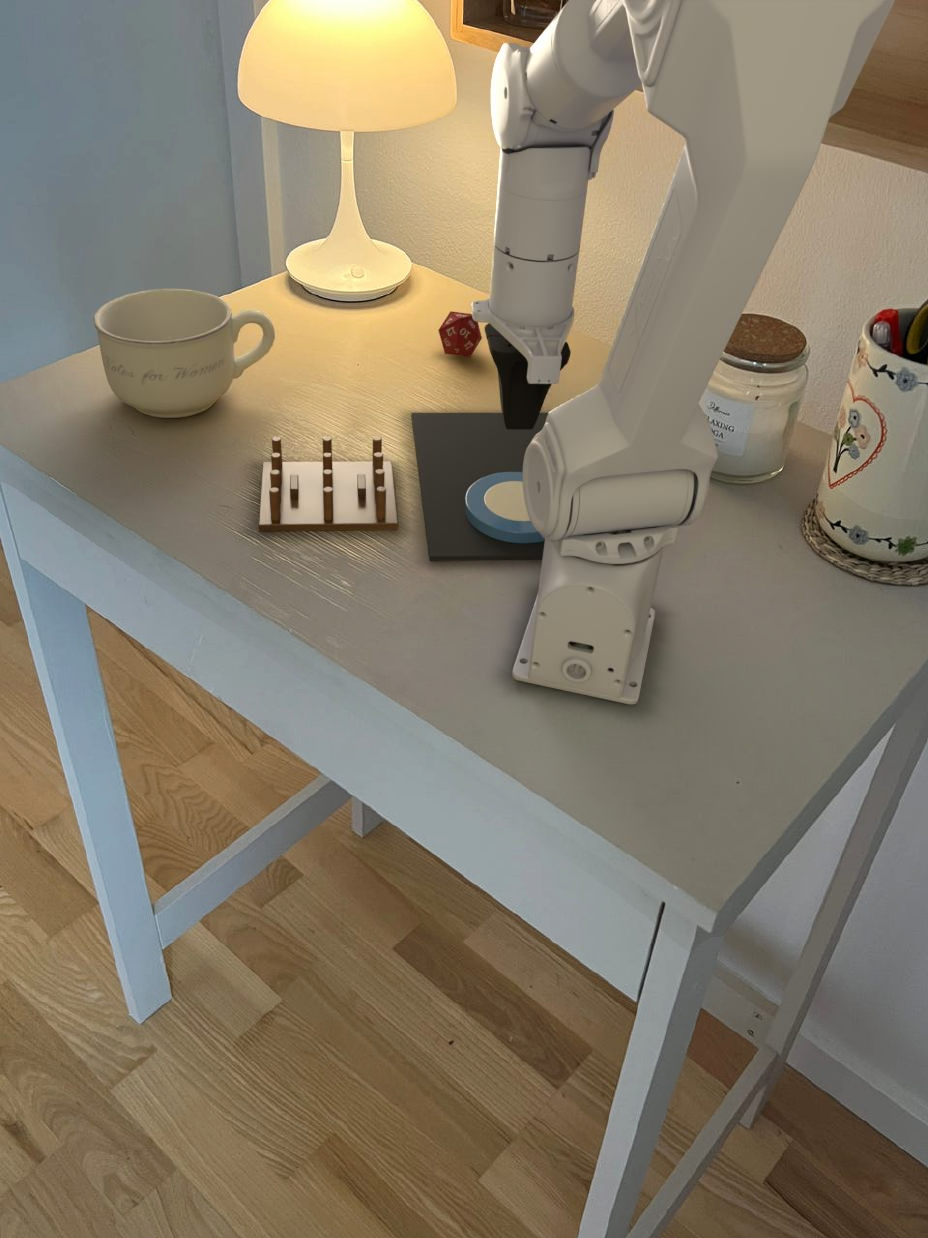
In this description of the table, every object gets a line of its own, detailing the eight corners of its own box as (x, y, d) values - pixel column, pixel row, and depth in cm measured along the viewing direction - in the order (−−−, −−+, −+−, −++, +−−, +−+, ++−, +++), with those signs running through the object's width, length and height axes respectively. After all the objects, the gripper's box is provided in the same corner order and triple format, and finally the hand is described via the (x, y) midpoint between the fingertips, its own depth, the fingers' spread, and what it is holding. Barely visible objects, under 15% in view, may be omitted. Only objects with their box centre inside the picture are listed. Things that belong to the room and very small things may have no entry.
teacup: (95, 430, 91) (79, 338, 86) (121, 366, 99) (108, 278, 94) (270, 436, 92) (265, 345, 86) (282, 372, 100) (278, 285, 95)
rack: (397, 529, 83) (398, 494, 81) (259, 531, 82) (256, 495, 80) (391, 467, 89) (392, 433, 87) (263, 468, 88) (260, 433, 86)
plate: (560, 481, 88) (580, 543, 82) (458, 483, 87) (471, 545, 81) (562, 469, 88) (582, 530, 82) (459, 471, 86) (472, 533, 80)
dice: (482, 346, 106) (485, 305, 103) (475, 368, 103) (478, 326, 100) (443, 340, 106) (445, 300, 104) (434, 362, 103) (436, 321, 100)
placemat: (622, 558, 82) (623, 553, 82) (429, 561, 80) (429, 556, 80) (574, 416, 97) (575, 412, 97) (411, 416, 95) (411, 412, 95)
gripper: (465, 202, 80) (455, 376, 89) (489, 290, 69) (475, 479, 78) (563, 204, 81) (544, 376, 89) (603, 292, 70) (576, 478, 78)
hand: (518, 424), depth 84 cm, fingers closed
